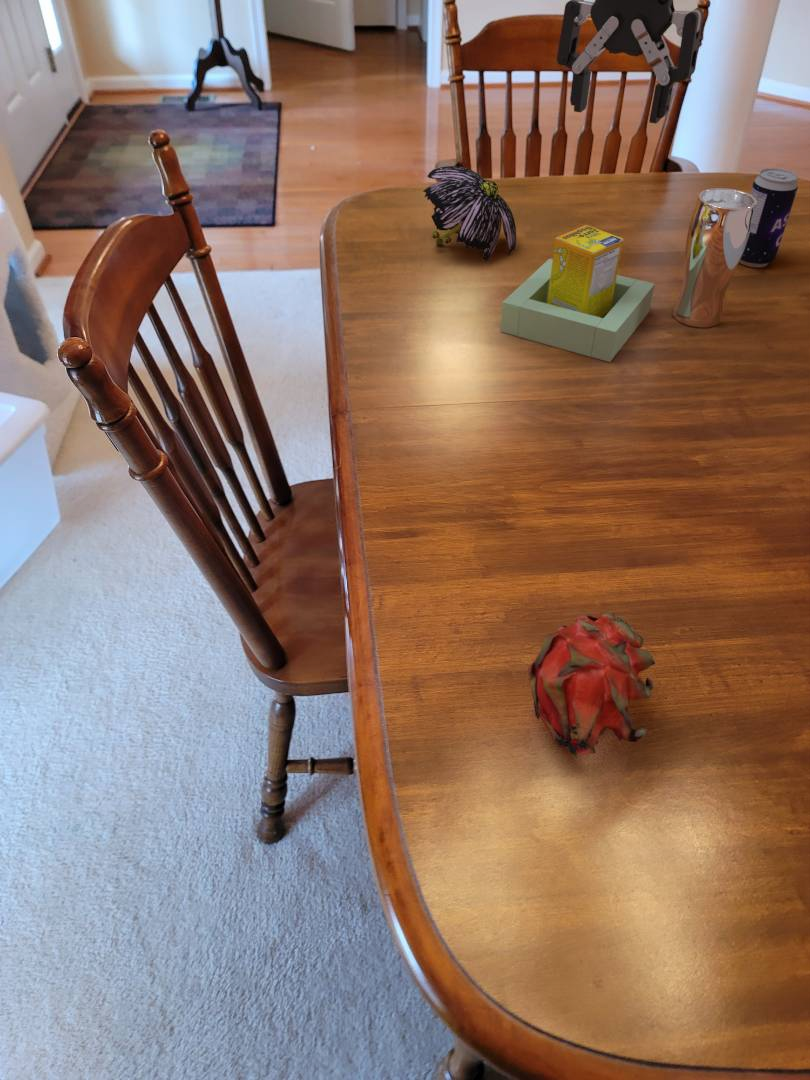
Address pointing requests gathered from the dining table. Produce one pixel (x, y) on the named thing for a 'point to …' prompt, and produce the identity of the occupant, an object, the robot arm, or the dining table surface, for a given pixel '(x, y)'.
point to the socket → (575, 316)
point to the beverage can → (769, 215)
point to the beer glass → (713, 254)
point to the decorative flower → (469, 210)
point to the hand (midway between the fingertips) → (616, 115)
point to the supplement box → (585, 271)
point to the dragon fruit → (590, 681)
